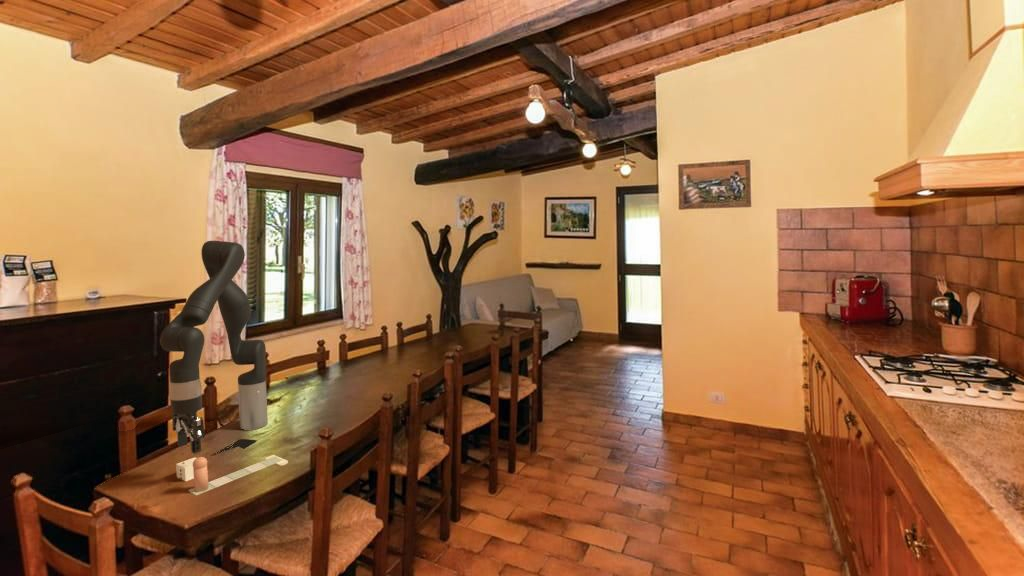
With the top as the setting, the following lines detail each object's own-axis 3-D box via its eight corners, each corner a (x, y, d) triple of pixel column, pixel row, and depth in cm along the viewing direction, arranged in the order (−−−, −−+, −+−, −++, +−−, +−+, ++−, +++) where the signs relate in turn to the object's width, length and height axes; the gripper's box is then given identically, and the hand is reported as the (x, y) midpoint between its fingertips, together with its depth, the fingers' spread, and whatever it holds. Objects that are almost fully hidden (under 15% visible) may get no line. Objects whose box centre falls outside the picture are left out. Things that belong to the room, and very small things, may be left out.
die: (176, 480, 135) (175, 463, 134) (195, 473, 139) (194, 456, 139) (185, 485, 132) (184, 467, 132) (204, 477, 137) (203, 460, 136)
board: (182, 492, 128) (182, 489, 128) (273, 457, 150) (273, 454, 150) (196, 501, 124) (196, 498, 124) (287, 463, 146) (287, 460, 146)
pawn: (191, 489, 128) (189, 458, 127) (205, 484, 131) (203, 453, 130) (197, 493, 126) (195, 461, 125) (211, 488, 129) (209, 456, 128)
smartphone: (206, 457, 149) (240, 438, 164) (206, 459, 149) (240, 440, 164) (226, 459, 148) (258, 440, 162) (226, 461, 148) (258, 441, 162)
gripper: (212, 395, 133) (215, 449, 135) (189, 387, 141) (192, 439, 142) (182, 403, 127) (186, 459, 128) (160, 394, 134) (163, 447, 136)
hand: (189, 448), depth 135 cm, fingers open, 8 cm apart
